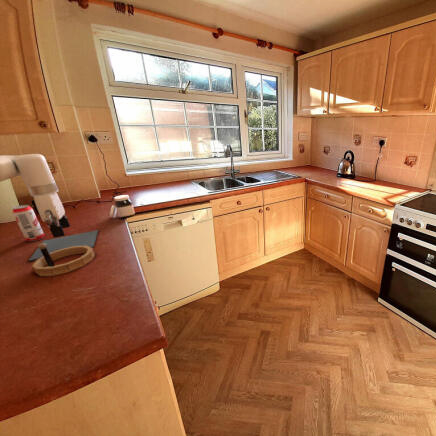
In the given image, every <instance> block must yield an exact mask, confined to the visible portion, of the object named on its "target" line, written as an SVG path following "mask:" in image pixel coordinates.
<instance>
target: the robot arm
mask: <svg viewBox="0 0 436 436" xmlns="http://www.w3.org/2000/svg"><path fill="white" fill-rule="evenodd" d="M20 176H21V178H22V180H23V182H24V184H25V186H26V188H27V190H28V193H29V194H30V196H31V197H33V200H34V203H35V206H36V210H37V211H38V214H39V217H40V219H41V221H42V223H47V224H46V225H47V226H48V229H49V231H50V233H51V235H52V237H53V239H55V238H60V237H65V236H66V234H65V231H64V229H66V228H70V227H71V224H70V221H69V220H68V217H67V215H66V210H65V208H64V205H63V203H62V201H61V199H60V196H59V195H58V192H60V189H59V188H58V185H57V184H56V181H55V179H54V176H53V174H52V171H51V169H50V167H49V164H48V161H47V160H46V158H45V156H44V155H43V154H40V153H29V154H20V155H9V154H7V155H5V154H4V155H0V182H4V181H6V180H9V179H13V178H16V177H20Z"/></svg>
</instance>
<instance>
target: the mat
mask: <svg viewBox="0 0 436 436" xmlns="http://www.w3.org/2000/svg"><path fill="white" fill-rule="evenodd" d="M98 234H99V229H97V230H92V231H85V232H81V233H76V234H71V235H64V236H60V237H56V238H51V239H45V240H42V242H41V243H45V244H46V245H47V247H46V248H47V250H48V252H49V253H52V252H54V251H57V250H60V249H64V248H68V247H73V246H89V247H91V248H92V249H93V248H94V246H95V243H96V239H97V236H98ZM41 257H43V254H42V252H41V250H40V249H39V248H38V247H37V248H36V250H35V251H34V253H32V255H31V256H30V258H29V259H28V262H35V261H36V260H37V259H39V258H41Z"/></svg>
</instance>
